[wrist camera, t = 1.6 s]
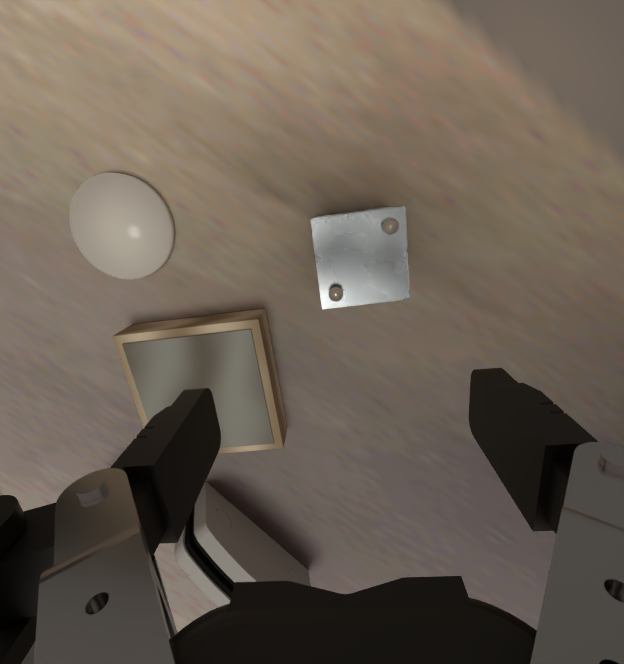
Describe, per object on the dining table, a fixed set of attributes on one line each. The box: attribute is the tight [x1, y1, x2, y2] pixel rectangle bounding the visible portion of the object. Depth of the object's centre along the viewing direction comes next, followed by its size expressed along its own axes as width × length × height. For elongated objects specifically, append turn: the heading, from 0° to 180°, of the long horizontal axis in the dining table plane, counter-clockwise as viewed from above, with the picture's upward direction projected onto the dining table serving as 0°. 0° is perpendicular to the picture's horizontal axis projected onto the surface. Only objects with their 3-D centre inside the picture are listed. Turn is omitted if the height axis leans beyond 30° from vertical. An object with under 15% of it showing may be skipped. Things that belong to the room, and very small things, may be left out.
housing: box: [310, 206, 410, 309], centre depth 24 cm, size 6×6×7 cm
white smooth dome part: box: [69, 173, 175, 279], centre depth 28 cm, size 8×8×1 cm
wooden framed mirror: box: [113, 309, 287, 453], centre depth 31 cm, size 12×12×3 cm
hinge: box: [174, 481, 311, 607], centre depth 35 cm, size 17×5×10 cm, turn 41°
